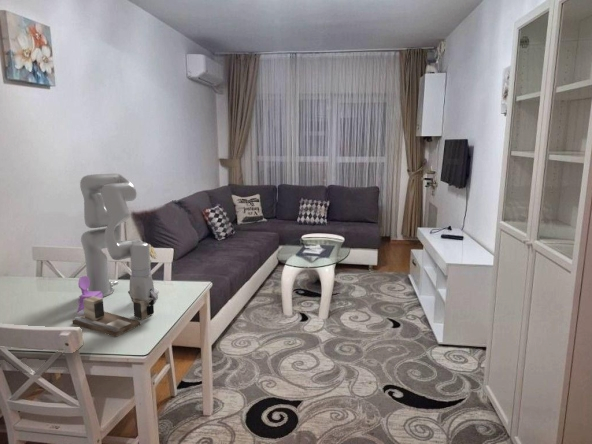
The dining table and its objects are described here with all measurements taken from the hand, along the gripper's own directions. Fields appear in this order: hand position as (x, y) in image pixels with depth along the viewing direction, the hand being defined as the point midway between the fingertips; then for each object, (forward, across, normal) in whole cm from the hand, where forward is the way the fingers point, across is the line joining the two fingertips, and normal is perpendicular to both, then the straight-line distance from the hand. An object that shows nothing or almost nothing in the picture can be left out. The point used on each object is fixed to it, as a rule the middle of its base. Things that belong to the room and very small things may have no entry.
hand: (143, 312), depth 174 cm
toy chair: (+2, -26, -6) cm, 27 cm away
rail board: (+2, -7, -13) cm, 15 cm away
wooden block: (+2, 0, 0) cm, 2 cm away
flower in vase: (+2, -17, +18) cm, 25 cm away
